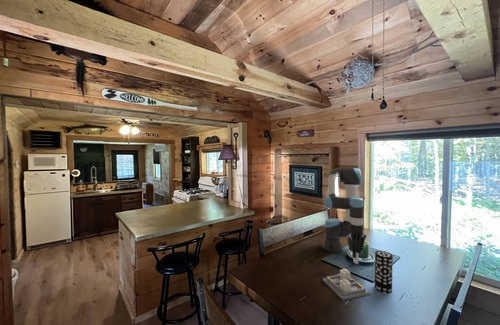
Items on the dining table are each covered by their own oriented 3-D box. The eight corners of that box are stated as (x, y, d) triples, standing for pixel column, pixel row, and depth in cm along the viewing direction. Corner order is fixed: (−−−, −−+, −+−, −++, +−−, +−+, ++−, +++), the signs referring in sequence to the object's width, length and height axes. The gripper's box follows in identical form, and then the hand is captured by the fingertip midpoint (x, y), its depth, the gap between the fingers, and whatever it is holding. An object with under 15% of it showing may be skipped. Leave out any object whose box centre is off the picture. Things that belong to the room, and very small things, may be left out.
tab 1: (345, 276, 132) (345, 267, 132) (350, 280, 128) (350, 271, 128) (339, 277, 131) (340, 268, 131) (344, 281, 127) (344, 272, 127)
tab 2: (345, 287, 121) (345, 277, 121) (350, 292, 118) (350, 281, 117) (339, 289, 120) (339, 278, 120) (344, 293, 117) (344, 283, 116)
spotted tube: (373, 283, 128) (374, 249, 127) (390, 286, 125) (390, 251, 124) (376, 291, 120) (376, 256, 119) (393, 295, 117) (394, 258, 116)
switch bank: (347, 276, 135) (347, 271, 135) (369, 294, 118) (369, 289, 118) (322, 280, 131) (322, 275, 131) (342, 300, 114) (342, 294, 113)
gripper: (360, 221, 135) (360, 258, 136) (342, 222, 132) (342, 261, 133) (370, 224, 128) (369, 264, 129) (351, 226, 125) (351, 267, 125)
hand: (355, 262), depth 131 cm, fingers closed
